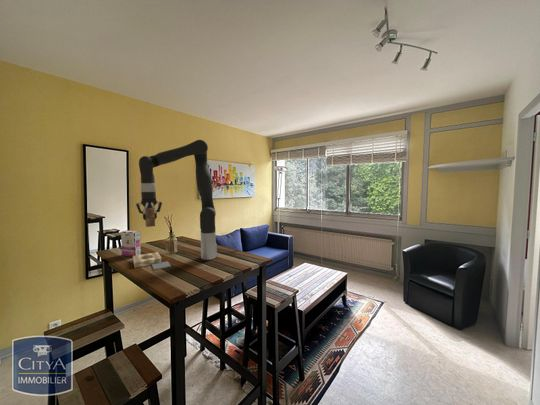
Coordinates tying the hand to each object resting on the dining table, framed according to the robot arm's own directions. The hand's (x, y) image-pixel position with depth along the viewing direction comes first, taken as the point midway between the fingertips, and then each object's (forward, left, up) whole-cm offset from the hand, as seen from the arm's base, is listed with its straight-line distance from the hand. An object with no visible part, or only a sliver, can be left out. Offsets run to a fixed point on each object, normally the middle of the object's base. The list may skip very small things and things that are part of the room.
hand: (150, 219), depth 133 cm
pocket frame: (+2, -3, -27) cm, 27 cm away
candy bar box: (+9, -22, -27) cm, 36 cm away
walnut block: (0, 0, -4) cm, 4 cm away
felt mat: (-4, +9, -27) cm, 28 cm away
